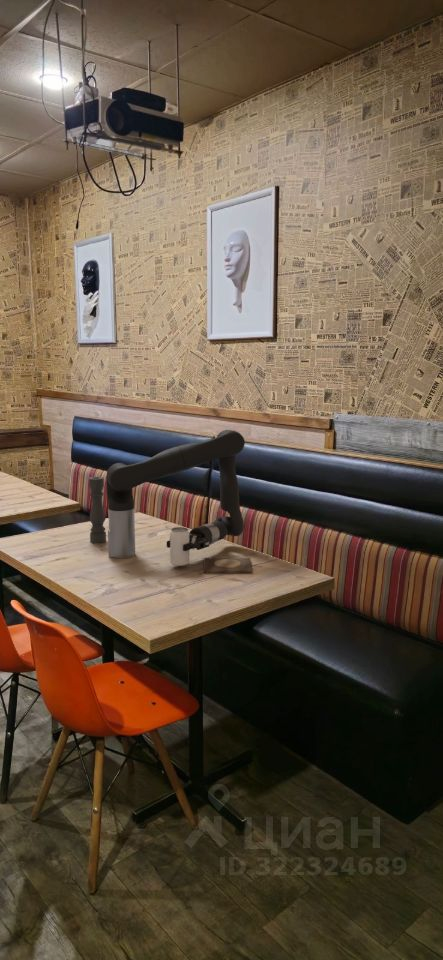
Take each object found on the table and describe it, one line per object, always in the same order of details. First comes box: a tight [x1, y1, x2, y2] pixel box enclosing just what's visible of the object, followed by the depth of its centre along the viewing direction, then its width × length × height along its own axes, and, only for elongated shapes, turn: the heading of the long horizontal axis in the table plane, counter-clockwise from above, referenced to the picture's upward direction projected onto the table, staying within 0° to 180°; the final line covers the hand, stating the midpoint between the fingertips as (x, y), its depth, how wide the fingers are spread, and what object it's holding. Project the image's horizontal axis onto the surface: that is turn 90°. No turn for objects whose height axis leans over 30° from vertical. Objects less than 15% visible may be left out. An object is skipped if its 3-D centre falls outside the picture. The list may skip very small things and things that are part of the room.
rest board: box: [203, 557, 253, 574], centre depth 229 cm, size 16×14×1 cm
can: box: [169, 526, 190, 567], centre depth 227 cm, size 6×6×12 cm
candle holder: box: [88, 476, 107, 544], centre depth 258 cm, size 6×6×25 cm
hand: (175, 546), depth 225 cm, fingers closed on can, 6 cm apart
